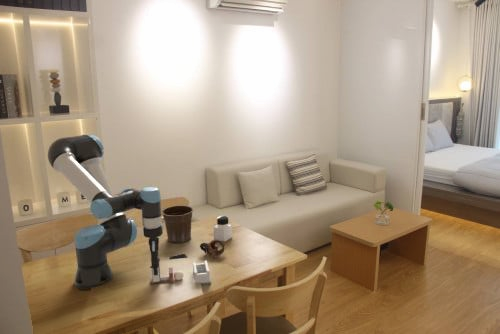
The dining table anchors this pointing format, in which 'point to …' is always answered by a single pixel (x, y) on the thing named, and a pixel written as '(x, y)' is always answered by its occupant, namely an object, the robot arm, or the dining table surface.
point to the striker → (164, 279)
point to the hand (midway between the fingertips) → (156, 278)
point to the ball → (178, 275)
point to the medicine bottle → (222, 229)
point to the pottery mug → (212, 248)
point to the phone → (178, 256)
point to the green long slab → (201, 273)
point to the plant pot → (178, 223)
